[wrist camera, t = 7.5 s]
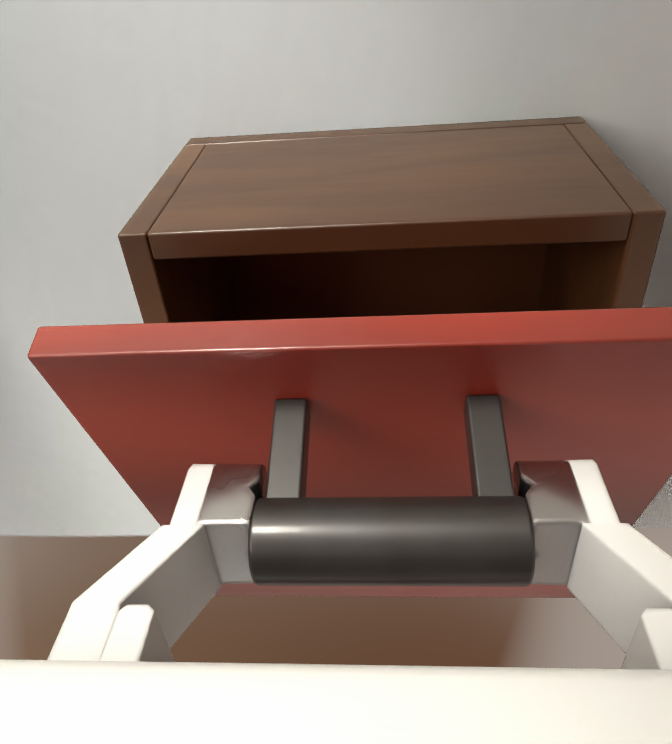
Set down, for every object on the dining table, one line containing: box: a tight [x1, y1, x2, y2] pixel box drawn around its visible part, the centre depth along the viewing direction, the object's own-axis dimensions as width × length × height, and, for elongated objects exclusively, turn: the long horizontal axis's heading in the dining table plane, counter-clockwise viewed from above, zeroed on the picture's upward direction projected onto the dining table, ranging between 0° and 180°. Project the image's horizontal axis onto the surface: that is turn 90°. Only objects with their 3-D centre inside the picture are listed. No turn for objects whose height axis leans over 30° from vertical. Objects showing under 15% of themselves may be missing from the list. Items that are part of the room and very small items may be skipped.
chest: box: [118, 117, 666, 324], centre depth 24 cm, size 15×14×8 cm
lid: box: [28, 307, 672, 598], centre depth 17 cm, size 16×14×5 cm
